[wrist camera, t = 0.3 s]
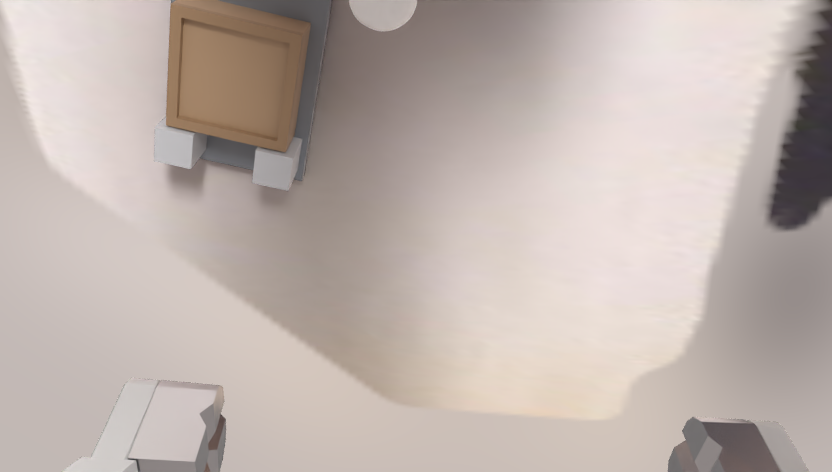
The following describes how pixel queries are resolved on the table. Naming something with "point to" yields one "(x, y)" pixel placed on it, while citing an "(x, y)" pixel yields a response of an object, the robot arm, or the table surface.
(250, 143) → the baseplate
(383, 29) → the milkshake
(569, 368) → the table surface
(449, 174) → the table surface
